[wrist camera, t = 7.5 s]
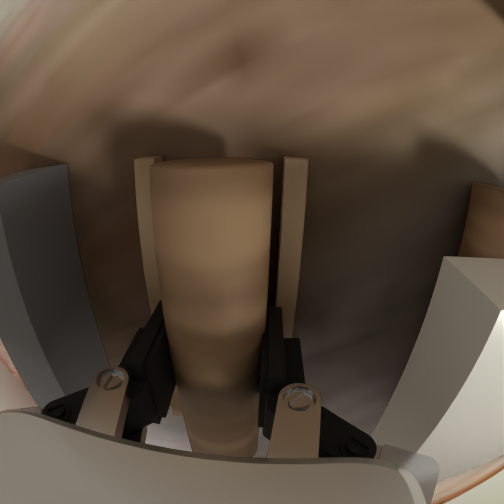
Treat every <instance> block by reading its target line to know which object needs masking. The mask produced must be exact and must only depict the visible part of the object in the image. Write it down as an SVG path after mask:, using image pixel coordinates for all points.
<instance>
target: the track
mask: <svg viewBox="0 0 504 504" xmlns="http://www.w3.org/2000/svg"><path fill="white" fill-rule="evenodd" d="M158 162H163V156H146V157H141V158H137V159H134V172H135V189H136V203H137V215H138V225H139V235H140V244H141V252H142V260H143V268H144V275H145V282H146V288H147V295H148V301H149V307H150V312H151V315H152V314H153V312H154V310H155V308H156V306H157V305H158V303H159V301H160V300H161V294H160V287H159V279H158V271H157V262H156V253H155V243H154V232H153V220H152V207H151V191H150V171H149V166H150V165H152V164H155V163H158ZM307 176H308V159H306V158H305V157H290V156H283V176H282V196H281V216H280V233H279V250H278V266H277V281H276V295H275V307H282V320H283V335H284V338H292V335H293V327H294V318H295V310H296V301H297V292H298V283H299V273H300V263H301V253H302V242H303V230H304V218H305V205H306V191H307ZM458 257H473V258H495V259H504V188H501V187H497V186H494V185H490V184H486V183H481V182H473V184H472V191H471V197H470V203H469V208H468V214H467V219H466V224H465V228H464V233H463V237H462V241H461V246H460V250H459V253H458ZM170 403H171V407H172V411H173V414H175V415H182V416H183V413H182V409H181V404H180V400H179V395H178V391H177V386H175V390H174V393H173V396H172V399H171V402H170Z"/></svg>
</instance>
